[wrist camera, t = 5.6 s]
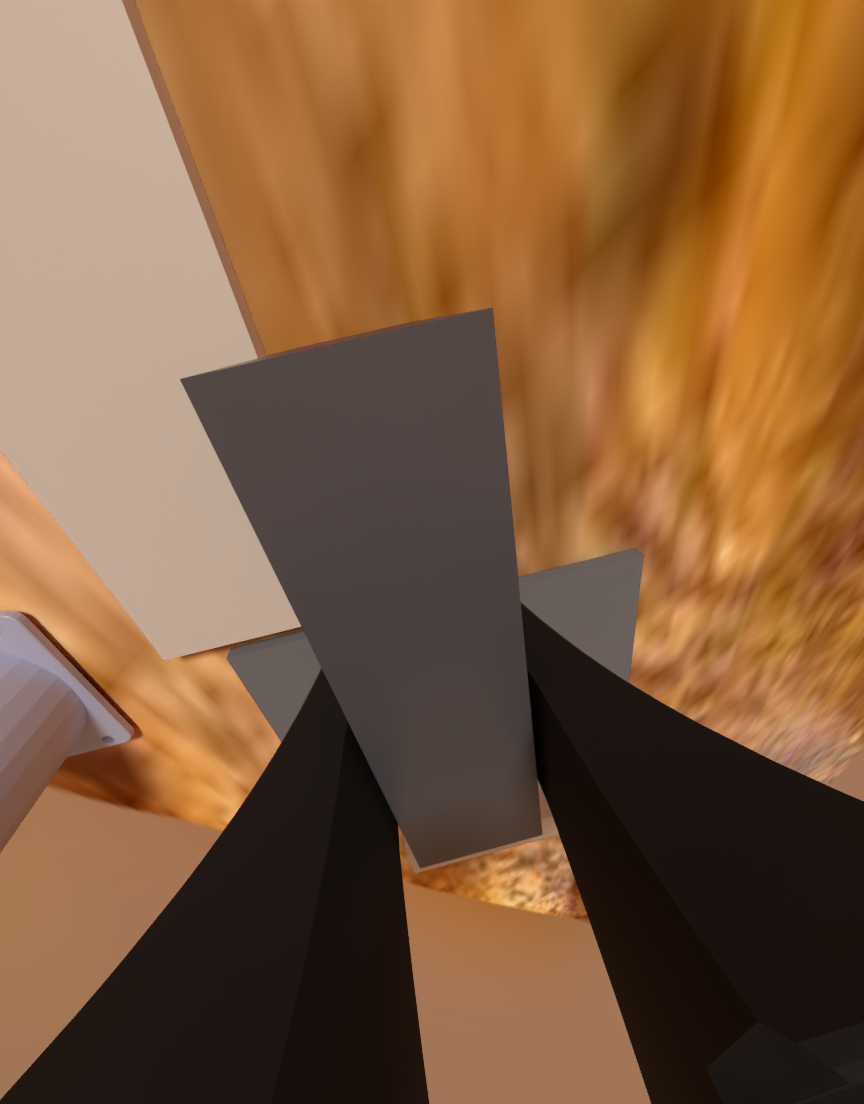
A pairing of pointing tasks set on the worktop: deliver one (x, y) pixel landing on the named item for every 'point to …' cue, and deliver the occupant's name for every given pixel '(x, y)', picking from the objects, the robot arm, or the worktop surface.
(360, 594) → the grey bar
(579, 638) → the mat
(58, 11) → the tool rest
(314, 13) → the worktop surface
